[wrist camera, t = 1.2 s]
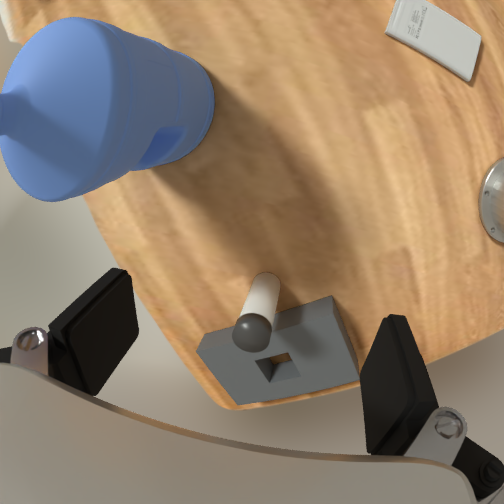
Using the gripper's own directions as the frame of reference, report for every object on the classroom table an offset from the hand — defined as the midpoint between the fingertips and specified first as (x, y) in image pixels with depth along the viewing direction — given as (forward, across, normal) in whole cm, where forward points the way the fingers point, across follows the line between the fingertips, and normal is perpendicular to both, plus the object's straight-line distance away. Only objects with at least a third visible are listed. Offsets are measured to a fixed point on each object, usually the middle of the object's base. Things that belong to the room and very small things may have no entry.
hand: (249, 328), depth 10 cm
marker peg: (+29, +1, +15) cm, 33 cm away
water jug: (+29, +18, -8) cm, 35 cm away
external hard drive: (+29, -17, -24) cm, 41 cm away
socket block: (+29, -2, +27) cm, 39 cm away
